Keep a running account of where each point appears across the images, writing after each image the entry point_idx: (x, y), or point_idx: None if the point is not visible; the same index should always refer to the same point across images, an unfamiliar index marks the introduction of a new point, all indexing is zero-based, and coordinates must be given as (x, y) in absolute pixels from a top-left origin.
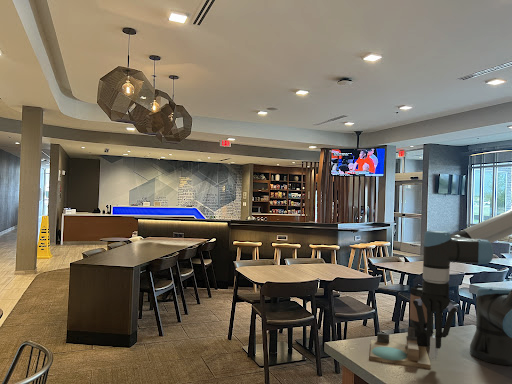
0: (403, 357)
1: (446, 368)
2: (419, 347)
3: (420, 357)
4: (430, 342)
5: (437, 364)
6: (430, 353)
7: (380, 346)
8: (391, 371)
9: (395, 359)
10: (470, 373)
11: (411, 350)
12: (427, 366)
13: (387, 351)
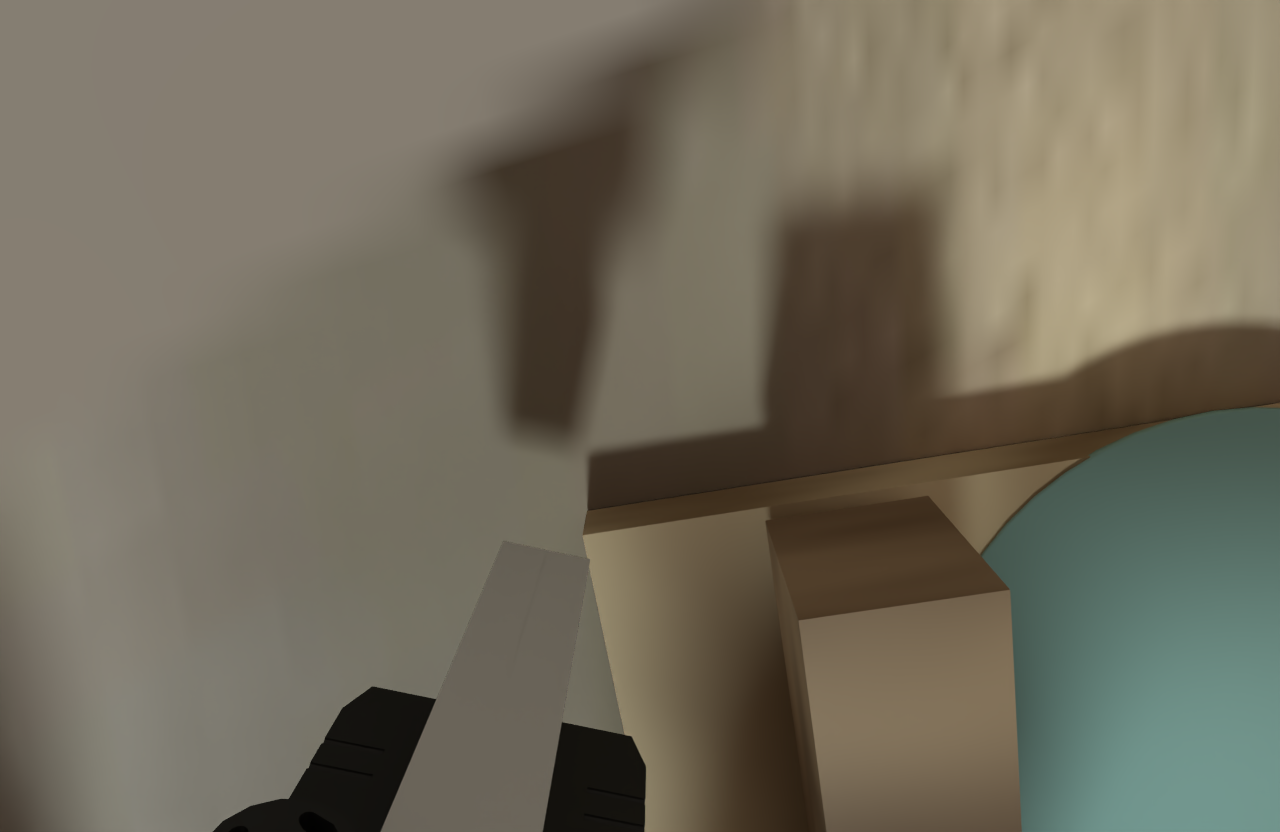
0: None
1: (396, 634)
2: None
3: (745, 733)
4: (544, 757)
5: None
6: (568, 602)
7: None
8: (1151, 79)
9: (1121, 454)
10: (103, 627)
11: (933, 580)
12: (629, 514)
13: (1240, 712)
